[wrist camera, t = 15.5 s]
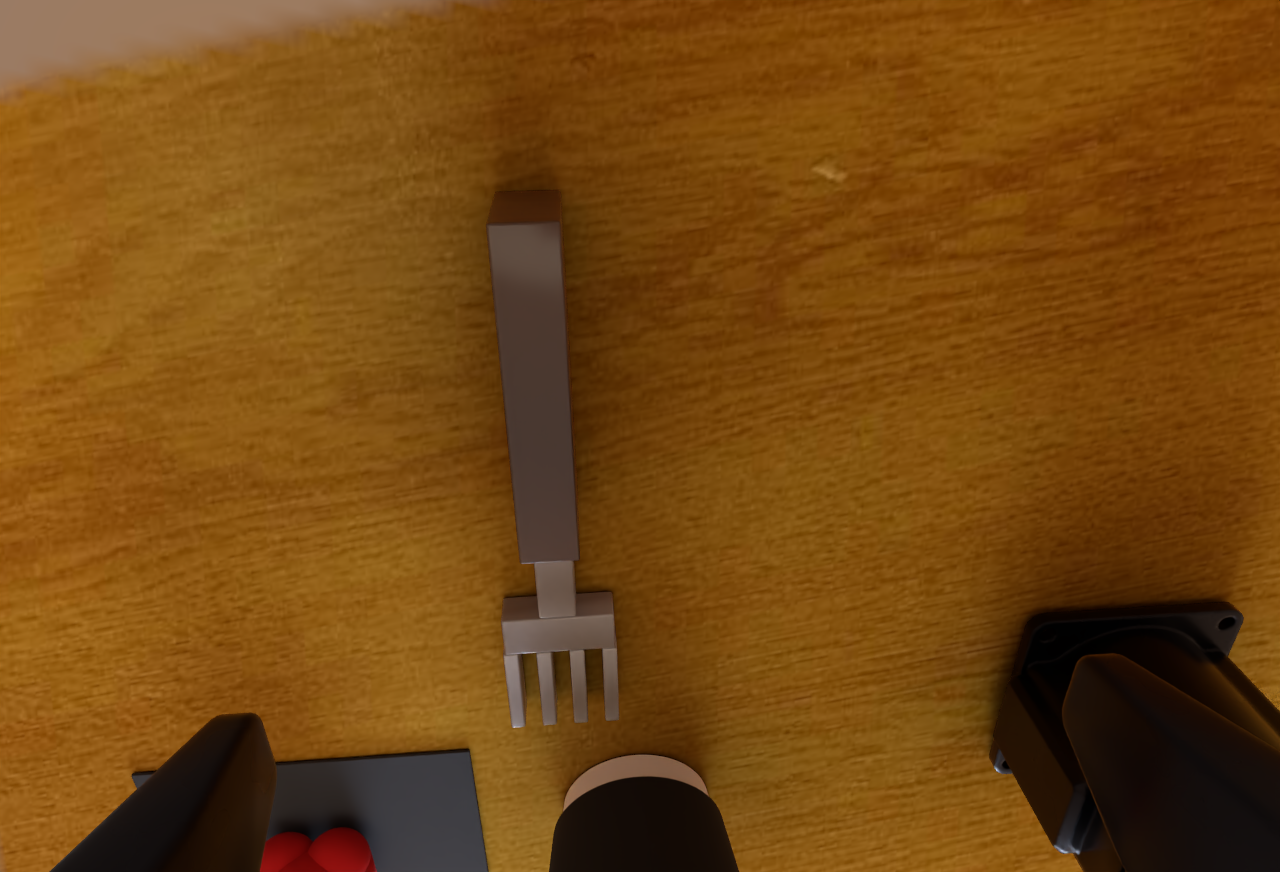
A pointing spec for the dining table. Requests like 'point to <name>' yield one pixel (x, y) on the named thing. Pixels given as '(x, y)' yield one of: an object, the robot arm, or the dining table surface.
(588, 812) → the dixie cup
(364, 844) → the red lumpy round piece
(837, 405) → the dining table surface
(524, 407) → the fork
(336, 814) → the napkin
